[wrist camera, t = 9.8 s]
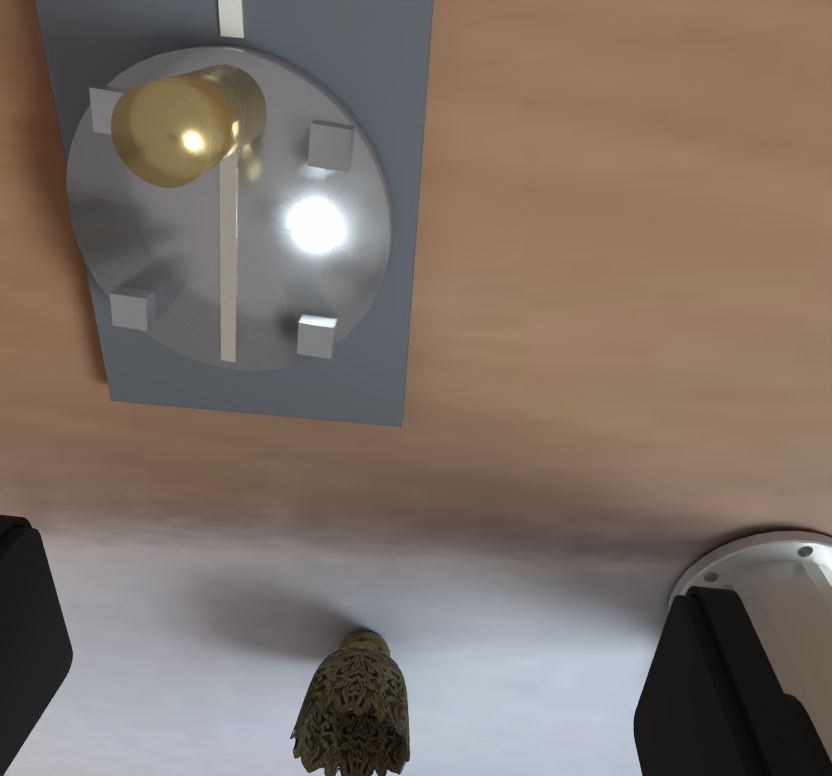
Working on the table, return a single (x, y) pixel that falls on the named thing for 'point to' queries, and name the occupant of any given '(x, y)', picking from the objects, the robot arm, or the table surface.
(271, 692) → the table surface
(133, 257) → the disc with brass post
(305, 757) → the cup
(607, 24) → the table surface
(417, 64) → the base plate
